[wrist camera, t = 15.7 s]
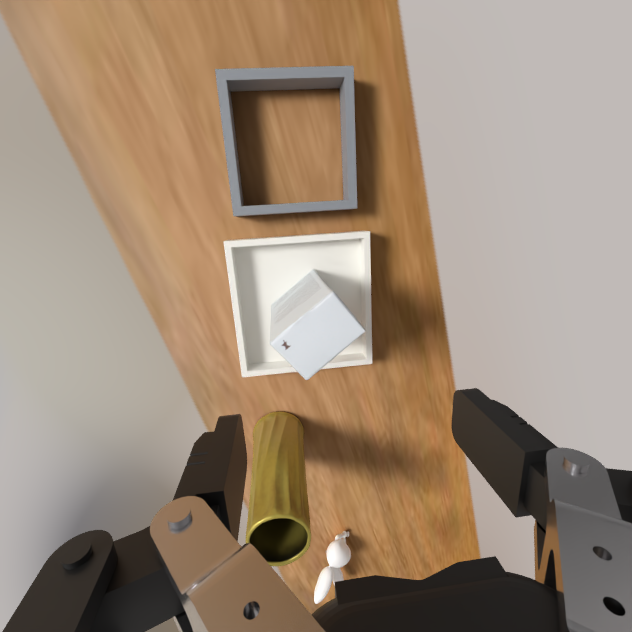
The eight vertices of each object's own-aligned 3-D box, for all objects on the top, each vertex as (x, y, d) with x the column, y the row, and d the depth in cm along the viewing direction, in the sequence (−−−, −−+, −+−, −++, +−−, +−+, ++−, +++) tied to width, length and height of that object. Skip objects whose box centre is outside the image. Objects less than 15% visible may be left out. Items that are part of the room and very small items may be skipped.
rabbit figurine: (364, 533, 46) (348, 599, 44) (341, 520, 48) (325, 582, 46) (341, 538, 41) (323, 611, 39) (317, 523, 44) (299, 591, 42)
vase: (314, 427, 40) (332, 532, 27) (283, 462, 41) (284, 581, 28) (274, 401, 39) (271, 498, 25) (242, 438, 40) (223, 551, 26)
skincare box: (296, 333, 36) (305, 384, 25) (270, 304, 35) (266, 343, 24) (339, 297, 36) (368, 332, 24) (314, 266, 34) (332, 288, 23)
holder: (220, 81, 30) (215, 69, 27) (347, 78, 31) (353, 65, 28) (236, 216, 33) (233, 216, 30) (351, 209, 34) (357, 208, 31)
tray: (227, 240, 33) (223, 241, 31) (363, 230, 35) (370, 231, 32) (244, 367, 37) (242, 377, 35) (366, 355, 38) (372, 363, 36)
